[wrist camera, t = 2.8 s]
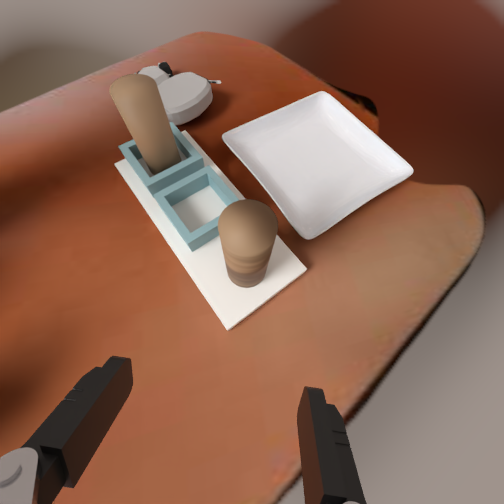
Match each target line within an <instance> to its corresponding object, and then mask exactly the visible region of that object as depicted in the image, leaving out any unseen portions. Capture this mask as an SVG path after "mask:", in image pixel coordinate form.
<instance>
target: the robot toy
mask: <svg viewBox="0 0 504 504" xmlns="http://www.w3.org/2000/svg"><path fill="white" fill-rule="evenodd" d="M134 74H136V73H134ZM137 74H144V75H147V76H149V77H151V78H153V79H154V80H155V82H156V84H157V87H158V90H159V93H160V96H161V99H162V102H163V105H164V108H165V111H166V114H167V117H168V120H169V123H170V122H173V124H174V125H175V126H177V125H182V124H185V123H187V122H189V121H191V120H193V119H194V118H196V117H198V116H199V115H200V114H201V113H202V112H203V111H204V110H205V109H206V108H207V107H208V106H209V105H210V103H211V102H212V98H213V95H212V89H211V85H210V83H218V84H221V81H219V80H218V81H212V80H207V79H206V78H204V77H201V76H199V75H197V74H194V73H192V72H186V73H180V74H178V75H175V76H173V75H172V70H171V69H170V67H169V65H168V64H167V62H162V63H158V67H156V66H149V67H145V68H142V70H141V71H139V72H138V73H137Z"/></svg>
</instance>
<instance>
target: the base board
mask: <svg viewBox="0 0 504 504" xmlns="http://www.w3.org/2000/svg"><path fill="white" fill-rule="evenodd" d="M109 92H110V95H111V97H112V99H113V101H114V103H115V105H116V107H117V109H118V111H119V112H120V114H121V116H122V118H123V120H124V122H125V124H126V126H127V128H128V130H129V132H130V134H131V135H132V137H133V140H131V141H128V142H126V143H124V144H122V145H120V146H118V147H119V149H120V150H121V152H122V153H123V155H124V157H125V159H123V160H121V161H119V162H117V163H115V164H114V165H115V166H116V168H117V169H118V171H119V172H120V173H121V175H122V176H123V178H124V179H125V181H126V182H127V184H128V185H129V187H130V188H131V190H132V191H133V193H134V194H135V195H136V197H137V198H138V200H139V201H140V203H141V204H142V206H143V207H144V209H145V210H146V212H147V213H148V215H149V216H150V218H151V219H152V220H153V222H154V223H155V225H156V226H157V228H158V229H159V231H160V232H161V234H162V235H163V237H164V238H165V240H166V241H167V243H168V244H169V245H170V247H171V248H172V250H173V251H174V253H175V254H176V256H177V257H178V259H179V260H180V262H181V263H182V265H183V266H184V267H185V269H186V270H187V272H188V273H189V275H190V276H191V278H192V279H193V281H194V282H195V284H196V285H197V287H198V288H199V290H200V291H201V292H202V294H203V295H204V297H205V298H206V300H207V301H208V303H209V304H210V306H211V307H212V309H213V310H214V312H215V313H216V314H217V316H218V317H219V319H220V320H221V322H222V323H223V325H224V326H225V328H226V329H227V331H229V330H230V329H232V328H233V327H234V326H236V325H237V324H238V323H240V322H241V321H242V320H243V319H245V318H246V317H247V316H249V315H250V314H251V313H253V312H254V311H255V310H256V309H258V308H259V307H260V306H262V305H263V304H264V303H266V302H267V301H268V300H269V299H271V298H272V297H273V296H275V295H276V294H277V293H279V292H280V291H281V290H282V289H284V288H285V287H286V286H288V285H289V284H290V283H292V282H293V281H294V280H295V279H297V278H298V277H299V276H301V275H302V274H303V273H304V272H305V271H306V270H307V268H306V267H305V266H304V265H303V264H302V263H301V262H300V260H299V259H298V258H297V257H296V256H295V255H294V254H293V252H292V251H291V250H290V249H289V248H288V247H287V246H286V244H285V243H284V242H283V241H282V240H281V239H280V238H279V236H278V235H276V239H275V242H274V246H273V249H272V253H271V256H270V260H269V263H268V267H267V270H266V274H265V277H264V278H263V280H262V281H261V282H260V283H259V284H258V285H256V286H254V287H250V288H243V287H239V286H237V285H235V284H234V283H233V282H232V281H231V280H230V278H229V276H228V273H227V269H226V264H225V259H224V255H223V250H222V245H221V240H220V236H219V231H218V220H219V217H220V215H221V213H222V211H223V210H224V209H225V208H226V207H227V206H228V205H230V204H231V203H233V202H236V201H239V200H244V199H245V198H244V197H243V195H242V194H241V193H240V192H239V191H238V190H237V189H236V187H235V186H234V185H233V184H232V183H231V182H230V181H229V179H228V178H227V177H226V176H225V175H224V174H223V173H222V171H221V170H220V169H219V168H218V167H217V166H216V165H215V163H214V162H213V161H212V160H211V159H210V158H209V157H208V155H207V154H206V153H205V152H204V151H203V150H202V149H201V147H200V146H199V145H198V144H197V143H196V142H195V141H194V139H193V138H192V137H191V136H190V135H189V134H188V133H187V131H186V130H184V131H182V132H180V131H179V129H178V128H177V127H176V126H175V125H174V124H173V122H170V123H169V120H168V117H167V114H166V111H165V108H164V105H163V102H162V99H161V96H160V93H159V90H158V87H157V84H156V82H155V80H154V79H153V78H151V77H149V76H147V75H144V74H129V75H125V76H122V77H120V78H118V79H117V80H115V81H114V82H113V83H112V85H111V86H110V90H109Z"/></svg>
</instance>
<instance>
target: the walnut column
mask: <svg viewBox="0 0 504 504" xmlns="http://www.w3.org/2000/svg"><path fill="white" fill-rule="evenodd" d="M218 231H219V236H220V240H221V245H222V250H223V255H224V259H225V264H226V269H227V273H228V276H229V278H230V280H231V281H232V282H233V283H234V284H235V285H237V286H239V287H243V288H250V287H254V286H256V285H258V284H259V283H260V282H261V281H262V280H263V278H264V277H265V274H266V270H267V267H268V263H269V260H270V256H271V253H272V249H273V246H274V242H275V239H276V235H277V232H278V221H277V217H276V215H275V213H274V212H273V211H272V209H271V208H270V207H269V206H267V205H266V204H264V203H262V202H260V201H257V200H252V199H244V200H239V201H236V202H233V203H231V204H230V205H228V206H227V207H226V208H225V209H224V210H223V211H222V213H221V215H220V217H219V220H218Z"/></svg>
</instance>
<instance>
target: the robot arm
mask: <svg viewBox="0 0 504 504" xmlns="http://www.w3.org/2000/svg"><path fill="white" fill-rule="evenodd" d="M132 386H133V375H132V365H131V359H130V358H125V357H118V356H112V357H110V358H109V359H108V361H107V362H106V363H105V364H104V365H103V367H102V368H101V367H95V368H94V369H92V370H91V371H90V372H88V373H87V374H85V375H84V376H83V377H82V378H81V379H80V380H79V381H78V383H77V384H76V385H75V386H74V387H73V389H72V390H71V391H70V392H69V393H68V394H67V395H66V397H65V398H64V400H63V401H61V402H60V404H59V405H58V406H57V407H56V408H55V409H54V411H53V412H52V413H51V414H50V415H49V416H48V418H47V419H46V420H45V421H44V422H43V423H42V425H41V426H40V427H39V428H38V429H37V430H36V432H35V433H34V434H33V435H32V436H31V437H30V439H29V440H28V441H27V442H26V443H25V444H24V445H23V446H22V447H21V448H19V449H16V450H13V451H11V452H9V453H7V454H5V455H4V456H2V457H1V458H0V504H55V498H56V496H57V495H58V493H59V492H60V490H61V489H62V487H63V486H64V487H69V488H74V487H75V485H76V484H77V482H78V480H79V479H80V477H81V475H82V474H83V472H84V470H85V469H86V467H87V465H88V463H89V462H90V460H91V458H92V457H93V455H94V453H95V452H96V450H97V448H98V447H99V445H100V443H101V442H102V440H103V438H104V437H105V435H106V433H107V432H108V430H109V428H110V427H111V425H112V423H113V422H114V420H115V418H116V416H117V415H118V413H119V411H120V410H121V408H122V406H123V405H124V403H125V401H126V400H127V398H128V396H129V394H130V392H131V389H132ZM297 426H298V436H299V446H300V456H301V466H302V476H303V486H304V496H305V504H366V501H365V498H364V494H363V491H362V487H361V484H360V480H359V476H358V473H357V469H356V465H355V462H354V458H353V455H352V451H351V448H350V444H349V440H348V437H347V435H346V429H345V425H344V422H343V418H342V416H341V415H340V413H339V412H338V410H337V408H336V407H335V405H331V404H326V400H325V396H324V392H323V390H322V389H319V388H313V387H306V386H305V387H304V390H303V394H302V397H301V400H300V404H299V407H298V413H297Z"/></svg>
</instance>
